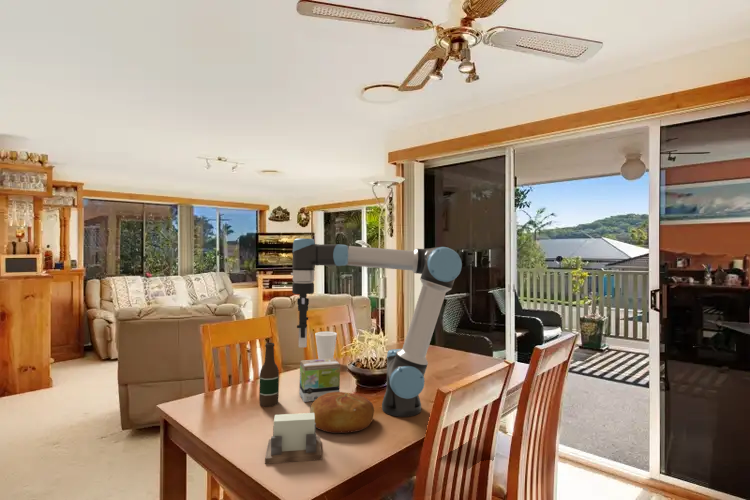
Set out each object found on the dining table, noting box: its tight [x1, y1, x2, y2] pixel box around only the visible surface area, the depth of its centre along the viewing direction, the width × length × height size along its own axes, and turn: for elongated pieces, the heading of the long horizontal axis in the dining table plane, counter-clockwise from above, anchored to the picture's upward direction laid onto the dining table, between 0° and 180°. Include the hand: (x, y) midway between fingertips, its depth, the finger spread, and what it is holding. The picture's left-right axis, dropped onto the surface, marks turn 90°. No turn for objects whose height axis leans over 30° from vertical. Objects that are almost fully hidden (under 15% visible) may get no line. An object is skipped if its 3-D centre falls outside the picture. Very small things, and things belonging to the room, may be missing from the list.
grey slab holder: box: [264, 423, 322, 465], centre depth 124 cm, size 16×12×6 cm
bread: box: [309, 391, 375, 434], centre depth 146 cm, size 23×23×10 cm
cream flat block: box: [273, 412, 315, 451], centre depth 124 cm, size 12×5×9 cm, turn 99°
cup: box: [314, 331, 338, 359], centre depth 222 cm, size 12×12×16 cm
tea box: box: [298, 357, 341, 403], centre depth 171 cm, size 15×10×15 cm, turn 111°
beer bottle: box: [258, 342, 280, 408], centre depth 163 cm, size 8×8×24 cm
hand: (302, 342), depth 144 cm, fingers open, 13 cm apart
